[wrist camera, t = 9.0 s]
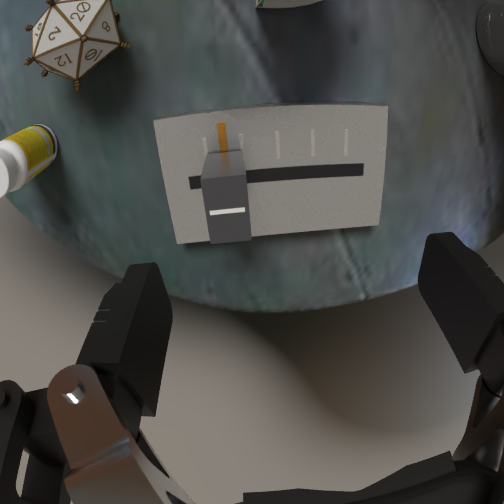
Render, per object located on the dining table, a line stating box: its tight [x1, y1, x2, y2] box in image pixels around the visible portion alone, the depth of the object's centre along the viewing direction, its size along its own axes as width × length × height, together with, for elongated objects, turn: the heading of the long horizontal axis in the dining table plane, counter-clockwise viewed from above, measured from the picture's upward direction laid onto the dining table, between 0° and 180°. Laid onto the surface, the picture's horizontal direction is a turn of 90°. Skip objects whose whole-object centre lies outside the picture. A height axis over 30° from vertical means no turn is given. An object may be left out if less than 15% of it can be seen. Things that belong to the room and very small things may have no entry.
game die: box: [24, 0, 131, 91], centre depth 17 cm, size 9×8×10 cm
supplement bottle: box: [0, 124, 57, 198], centre depth 22 cm, size 5×5×8 cm
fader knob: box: [200, 151, 252, 244], centre depth 24 cm, size 3×5×6 cm, turn 5°
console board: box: [153, 102, 388, 244], centre depth 28 cm, size 20×12×2 cm, turn 94°
